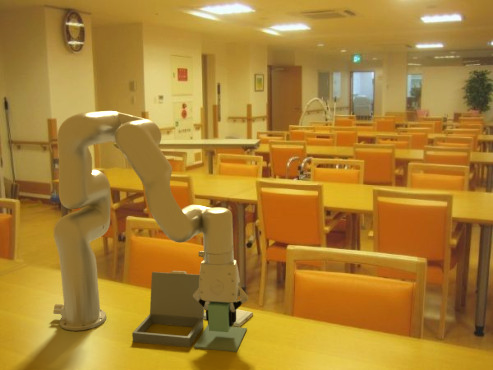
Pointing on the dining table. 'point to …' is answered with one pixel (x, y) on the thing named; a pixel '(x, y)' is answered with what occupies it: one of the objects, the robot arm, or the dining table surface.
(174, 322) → the case
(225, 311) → the block
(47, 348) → the dining table surface
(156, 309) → the lid
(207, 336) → the mat
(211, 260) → the robot arm
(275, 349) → the dining table surface
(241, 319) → the hard drive
